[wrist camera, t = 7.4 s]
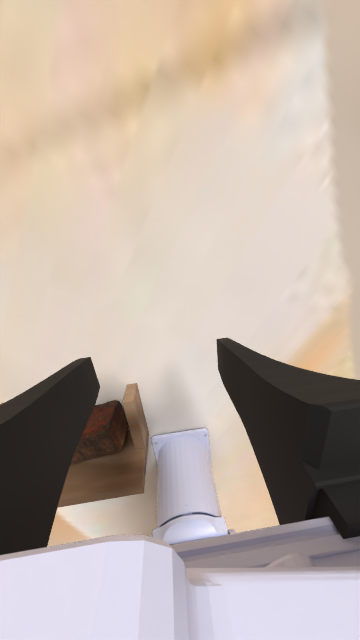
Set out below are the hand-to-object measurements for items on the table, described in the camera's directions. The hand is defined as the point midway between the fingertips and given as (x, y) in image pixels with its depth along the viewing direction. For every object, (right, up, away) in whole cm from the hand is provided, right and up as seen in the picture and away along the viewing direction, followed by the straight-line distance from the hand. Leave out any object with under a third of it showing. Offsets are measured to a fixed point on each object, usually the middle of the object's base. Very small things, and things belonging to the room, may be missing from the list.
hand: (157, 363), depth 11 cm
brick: (-11, -11, +14) cm, 21 cm away
